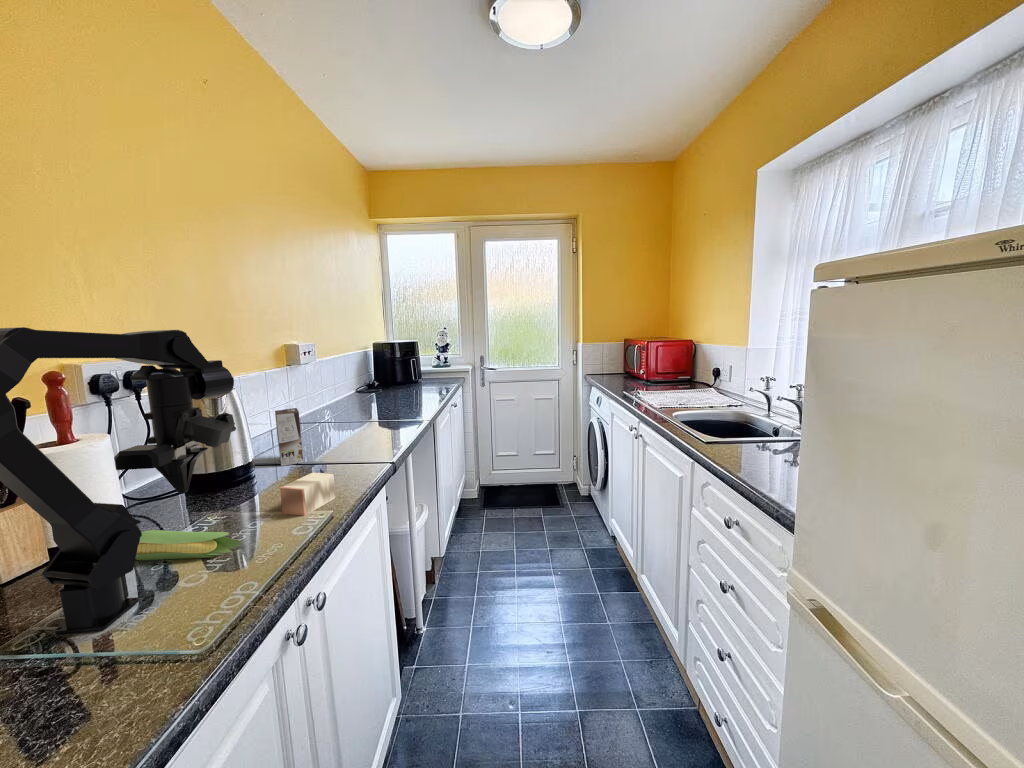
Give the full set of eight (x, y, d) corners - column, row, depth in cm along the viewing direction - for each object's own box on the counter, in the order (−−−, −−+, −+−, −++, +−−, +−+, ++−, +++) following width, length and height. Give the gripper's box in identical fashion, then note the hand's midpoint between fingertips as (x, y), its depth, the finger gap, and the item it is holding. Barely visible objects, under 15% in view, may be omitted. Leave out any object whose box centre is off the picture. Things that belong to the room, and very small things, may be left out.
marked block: (301, 489, 92) (333, 474, 101) (279, 487, 93) (312, 472, 103) (304, 515, 92) (335, 498, 102) (282, 513, 94) (315, 495, 104)
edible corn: (138, 528, 79) (116, 533, 75) (245, 528, 80) (229, 533, 75) (134, 557, 78) (112, 563, 74) (242, 556, 79) (226, 563, 74)
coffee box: (304, 462, 130) (299, 411, 128) (280, 466, 127) (275, 414, 125) (302, 455, 138) (297, 407, 136) (279, 459, 135) (274, 409, 133)
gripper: (184, 412, 63) (197, 512, 65) (250, 394, 81) (258, 472, 83) (104, 416, 62) (119, 517, 64) (189, 396, 80) (199, 475, 82)
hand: (183, 492), depth 73 cm, fingers closed
